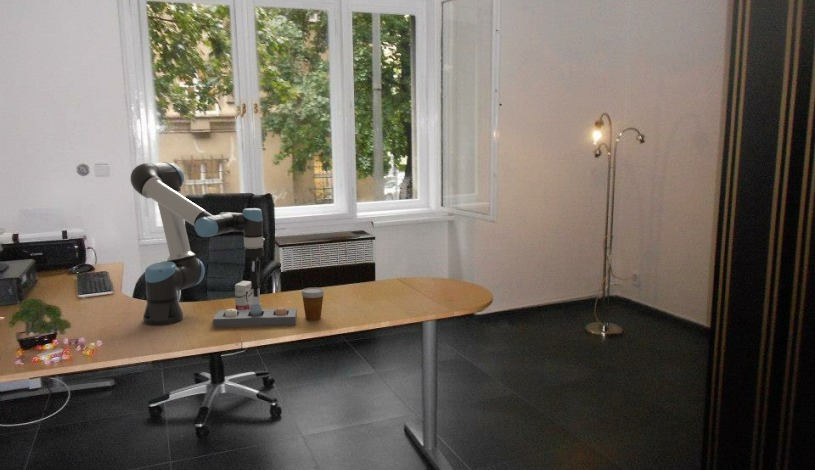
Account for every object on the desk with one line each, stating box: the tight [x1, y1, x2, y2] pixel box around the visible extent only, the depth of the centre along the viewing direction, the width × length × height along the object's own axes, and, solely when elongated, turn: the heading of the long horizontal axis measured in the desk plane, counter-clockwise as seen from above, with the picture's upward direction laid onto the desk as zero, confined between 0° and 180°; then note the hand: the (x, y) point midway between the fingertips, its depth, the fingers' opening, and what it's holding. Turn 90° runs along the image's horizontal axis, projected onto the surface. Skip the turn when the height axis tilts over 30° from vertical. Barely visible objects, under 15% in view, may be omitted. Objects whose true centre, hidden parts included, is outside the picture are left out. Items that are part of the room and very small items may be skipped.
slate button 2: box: [249, 302, 263, 316], centre depth 242 cm, size 5×5×5 cm
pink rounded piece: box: [274, 306, 287, 315], centre depth 243 cm, size 5×5×5 cm
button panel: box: [212, 307, 298, 329], centre depth 242 cm, size 32×12×4 cm, turn 98°
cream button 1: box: [224, 308, 237, 317], centre depth 241 cm, size 5×5×5 cm
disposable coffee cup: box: [301, 287, 325, 321], centre depth 248 cm, size 10×10×12 cm
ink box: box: [234, 280, 253, 310], centre depth 259 cm, size 9×5×12 cm, turn 168°
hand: (256, 303), depth 241 cm, fingers closed
